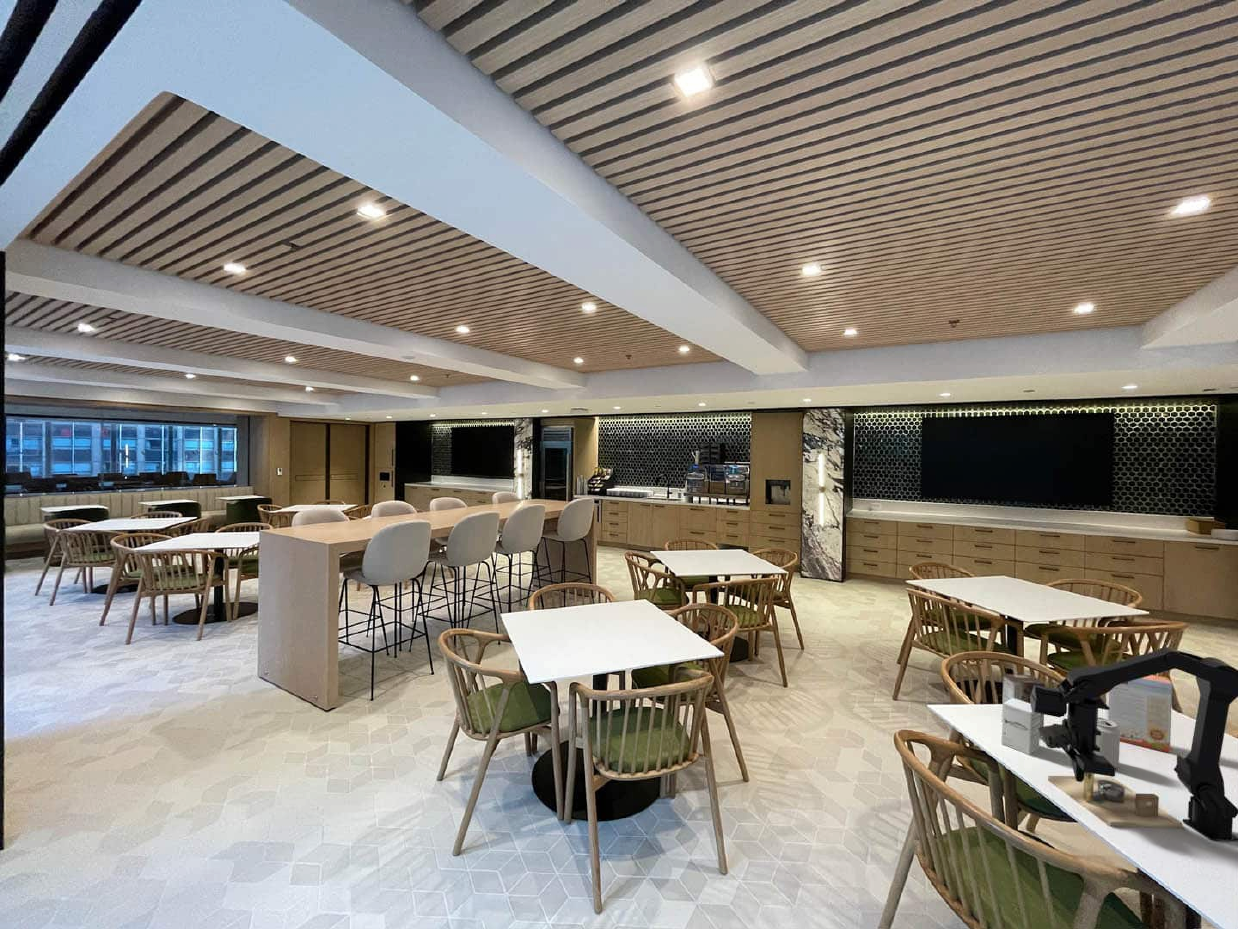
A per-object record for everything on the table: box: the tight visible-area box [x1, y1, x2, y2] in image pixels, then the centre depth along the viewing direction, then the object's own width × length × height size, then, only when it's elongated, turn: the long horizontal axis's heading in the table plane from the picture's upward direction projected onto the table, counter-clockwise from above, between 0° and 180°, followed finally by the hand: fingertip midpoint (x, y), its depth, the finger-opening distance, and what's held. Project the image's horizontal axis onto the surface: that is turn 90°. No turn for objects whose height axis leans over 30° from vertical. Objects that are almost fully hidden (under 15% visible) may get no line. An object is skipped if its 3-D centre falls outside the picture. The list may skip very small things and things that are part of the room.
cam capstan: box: [1083, 771, 1125, 803], centre depth 134 cm, size 11×5×7 cm, turn 104°
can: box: [1094, 716, 1121, 768], centre depth 153 cm, size 8×8×12 cm
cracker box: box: [1105, 674, 1173, 754], centre depth 166 cm, size 14×6×21 cm, turn 53°
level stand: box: [1047, 775, 1183, 829], centre depth 135 cm, size 18×17×6 cm
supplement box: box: [1000, 698, 1041, 756], centre depth 161 cm, size 7×7×13 cm
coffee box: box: [1001, 673, 1045, 727], centre depth 172 cm, size 9×6×16 cm
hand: (1078, 781), depth 137 cm, fingers closed
